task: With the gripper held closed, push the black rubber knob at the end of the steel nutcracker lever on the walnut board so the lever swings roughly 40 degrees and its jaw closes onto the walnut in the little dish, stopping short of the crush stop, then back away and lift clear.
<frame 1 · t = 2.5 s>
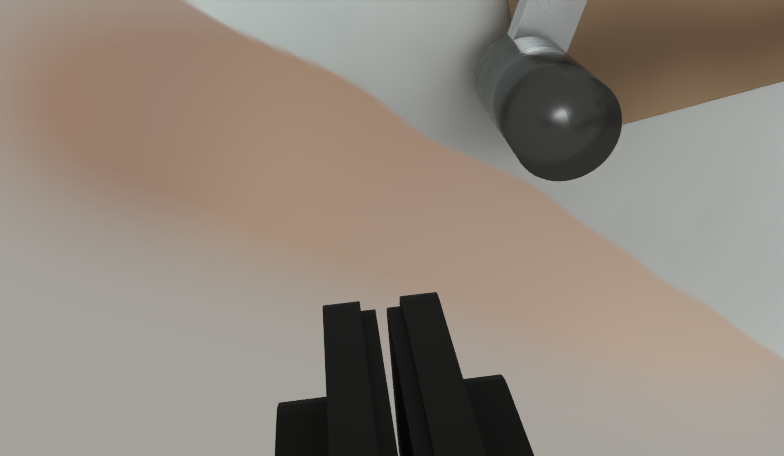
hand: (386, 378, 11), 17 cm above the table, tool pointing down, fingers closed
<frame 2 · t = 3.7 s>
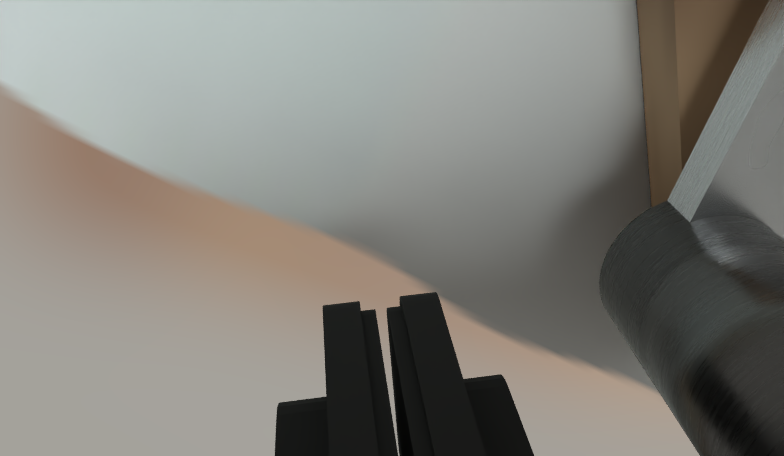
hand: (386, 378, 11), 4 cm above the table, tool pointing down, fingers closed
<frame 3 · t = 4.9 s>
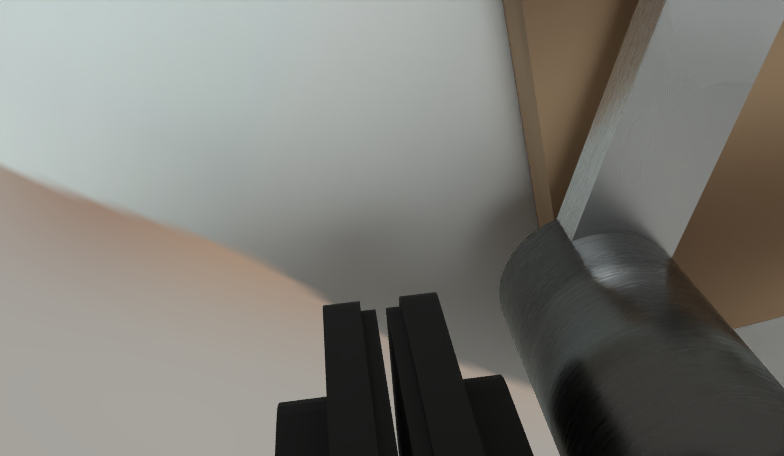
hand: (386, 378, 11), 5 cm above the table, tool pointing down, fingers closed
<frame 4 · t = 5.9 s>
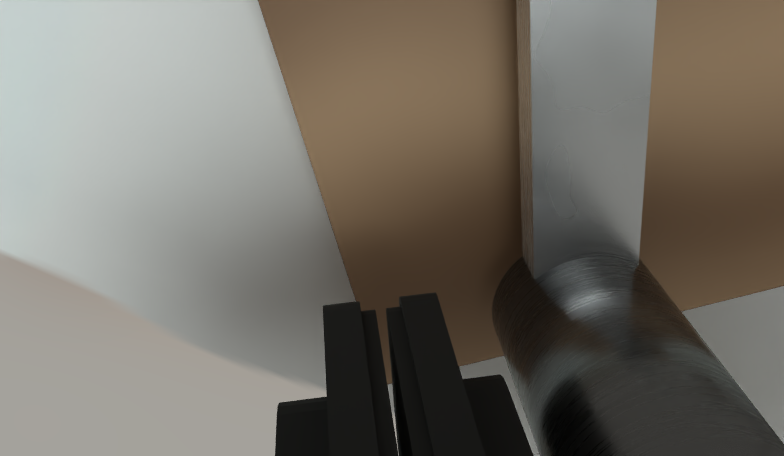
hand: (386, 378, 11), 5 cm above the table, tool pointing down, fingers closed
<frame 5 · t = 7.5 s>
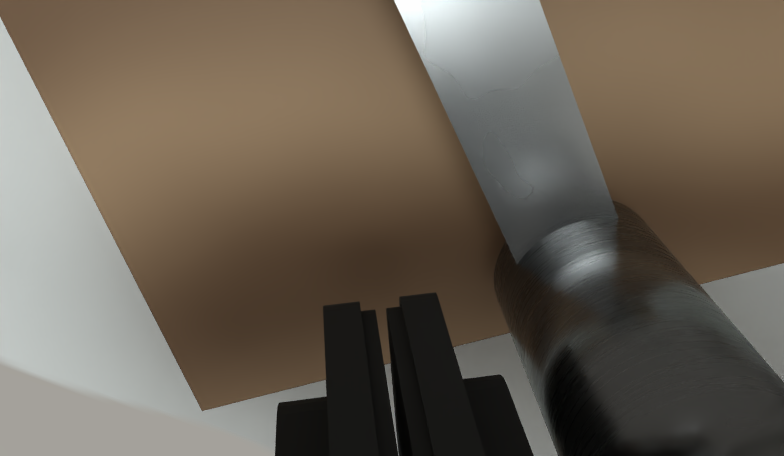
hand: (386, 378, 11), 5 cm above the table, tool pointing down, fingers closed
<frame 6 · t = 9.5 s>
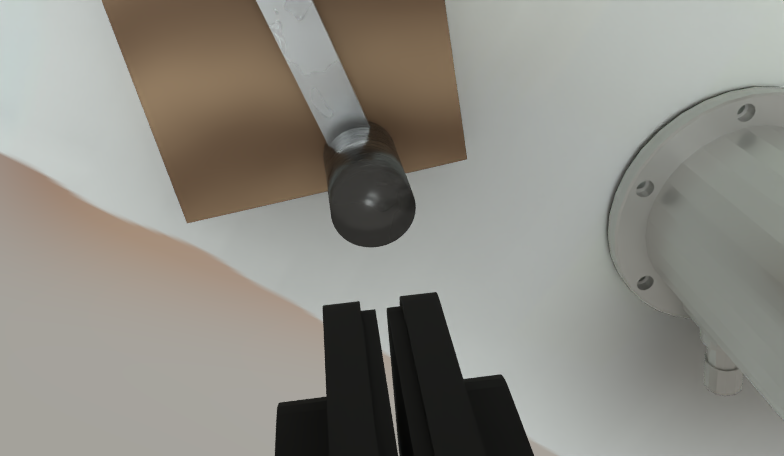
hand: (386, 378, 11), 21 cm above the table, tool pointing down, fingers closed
lever: (301, 29, 24), point 5 cm above the table, hinge at 41.7°
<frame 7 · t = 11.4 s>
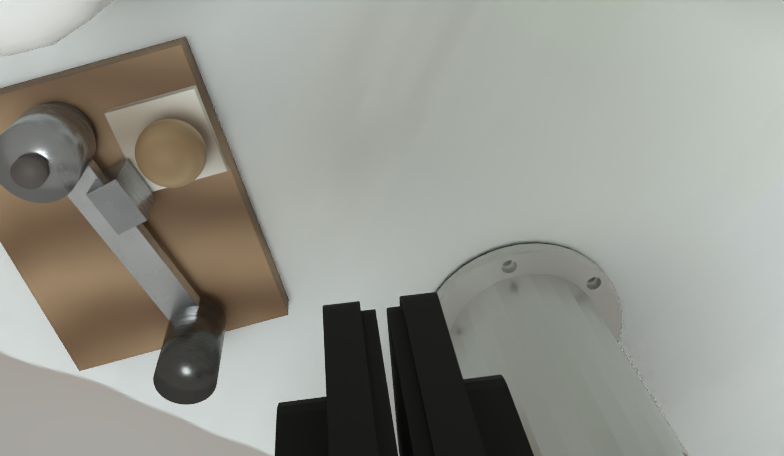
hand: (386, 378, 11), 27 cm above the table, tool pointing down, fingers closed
lever: (124, 258, 34), point 5 cm above the table, hinge at 41.7°
board: (130, 212, 38), on the table
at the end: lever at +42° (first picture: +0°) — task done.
